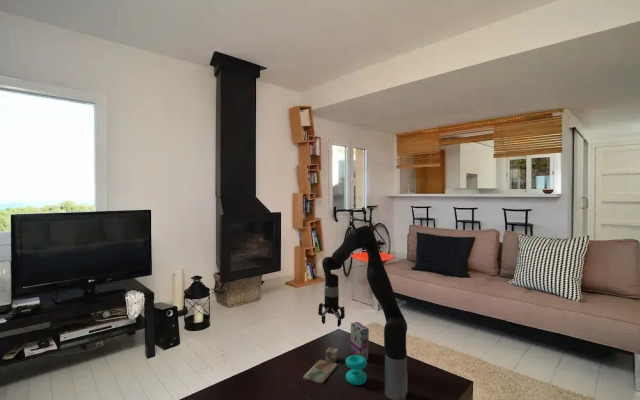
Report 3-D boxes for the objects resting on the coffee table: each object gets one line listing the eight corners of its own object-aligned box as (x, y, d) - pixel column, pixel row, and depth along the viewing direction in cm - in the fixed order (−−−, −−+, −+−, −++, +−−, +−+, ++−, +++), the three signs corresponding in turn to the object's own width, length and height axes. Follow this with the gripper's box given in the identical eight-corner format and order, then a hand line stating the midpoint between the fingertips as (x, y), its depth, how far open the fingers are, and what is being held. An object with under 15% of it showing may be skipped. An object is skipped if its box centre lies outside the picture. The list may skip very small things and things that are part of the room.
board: (337, 365, 162) (337, 363, 162) (322, 384, 146) (322, 381, 146) (319, 361, 167) (319, 359, 167) (303, 378, 150) (303, 376, 150)
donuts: (341, 360, 148) (351, 351, 156) (341, 381, 148) (351, 372, 156) (361, 366, 143) (370, 357, 151) (361, 388, 143) (370, 378, 151)
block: (337, 358, 170) (338, 349, 170) (334, 362, 166) (334, 353, 166) (329, 356, 172) (329, 347, 172) (325, 360, 168) (325, 351, 168)
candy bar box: (369, 359, 169) (369, 328, 169) (361, 361, 167) (361, 330, 167) (357, 350, 179) (358, 321, 179) (350, 352, 177) (350, 322, 177)
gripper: (346, 294, 169) (346, 324, 169) (322, 290, 175) (321, 320, 175) (341, 298, 162) (341, 329, 162) (316, 294, 168) (316, 324, 168)
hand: (331, 324), depth 169 cm, fingers open, 8 cm apart
